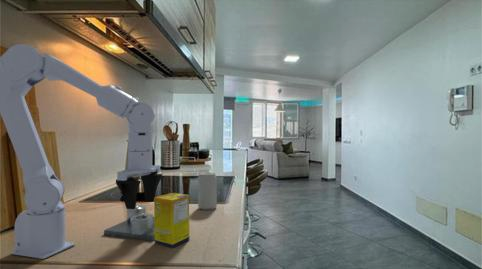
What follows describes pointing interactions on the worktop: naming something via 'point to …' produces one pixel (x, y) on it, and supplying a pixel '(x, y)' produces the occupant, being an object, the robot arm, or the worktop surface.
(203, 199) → the beverage can
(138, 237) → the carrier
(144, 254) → the worktop surface
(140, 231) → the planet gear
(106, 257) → the worktop surface
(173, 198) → the supplement box
